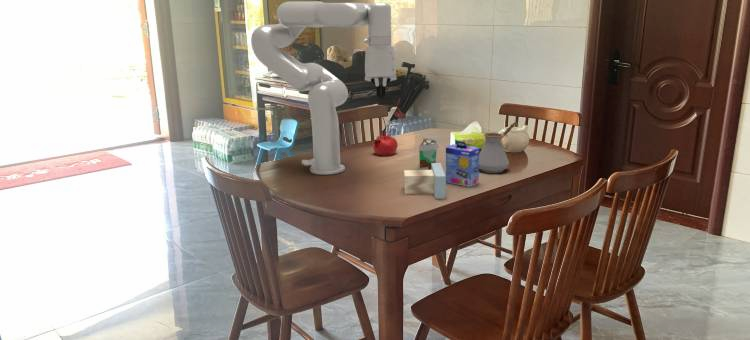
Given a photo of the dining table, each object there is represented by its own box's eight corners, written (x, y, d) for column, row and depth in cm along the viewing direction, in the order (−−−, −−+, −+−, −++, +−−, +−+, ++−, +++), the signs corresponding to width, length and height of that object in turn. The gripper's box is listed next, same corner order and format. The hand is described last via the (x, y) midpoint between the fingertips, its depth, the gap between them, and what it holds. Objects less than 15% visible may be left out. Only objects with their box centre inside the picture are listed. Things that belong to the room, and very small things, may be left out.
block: (405, 194, 180) (404, 176, 179) (404, 188, 187) (404, 170, 185) (433, 194, 180) (434, 175, 178) (432, 187, 187) (432, 169, 185)
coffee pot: (498, 176, 197) (499, 133, 193) (469, 171, 204) (470, 129, 200) (528, 164, 212) (530, 123, 208) (500, 159, 219) (502, 120, 216)
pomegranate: (398, 151, 236) (398, 129, 234) (396, 157, 227) (396, 134, 224) (374, 151, 237) (374, 128, 235) (371, 156, 228) (371, 133, 226)
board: (435, 198, 175) (435, 176, 173) (431, 183, 190) (431, 163, 189) (445, 198, 175) (445, 176, 173) (440, 183, 190) (440, 162, 188)
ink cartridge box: (444, 182, 191) (444, 139, 187) (453, 179, 195) (453, 136, 191) (470, 187, 185) (471, 143, 181) (479, 183, 189) (480, 140, 185)
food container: (436, 173, 202) (436, 145, 200) (419, 173, 203) (419, 145, 201) (440, 164, 214) (440, 138, 211) (423, 164, 215) (423, 137, 212)
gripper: (356, 43, 186) (358, 100, 191) (403, 42, 186) (403, 99, 190) (357, 42, 193) (359, 96, 198) (402, 41, 193) (403, 96, 198)
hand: (381, 97), depth 194 cm, fingers closed
